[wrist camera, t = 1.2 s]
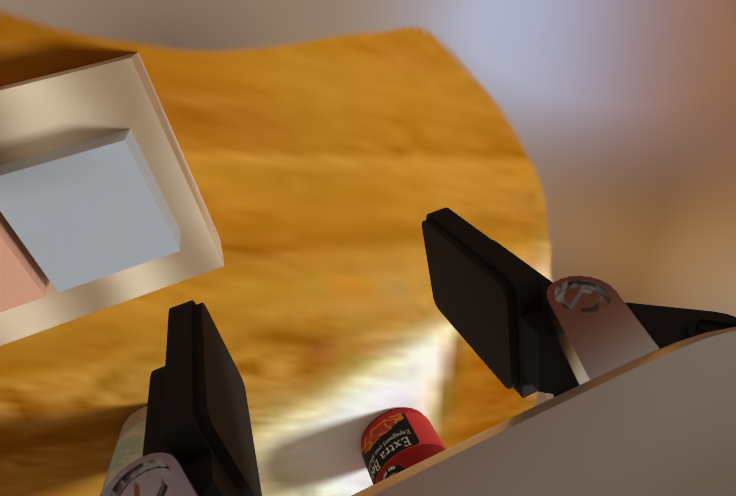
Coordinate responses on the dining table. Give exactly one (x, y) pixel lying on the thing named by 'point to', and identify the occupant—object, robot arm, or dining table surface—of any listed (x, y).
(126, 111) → the birch plate
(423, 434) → the canned food
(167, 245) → the tile slate
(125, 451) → the coffee cup
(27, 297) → the tile terracotta
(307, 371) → the dining table surface
